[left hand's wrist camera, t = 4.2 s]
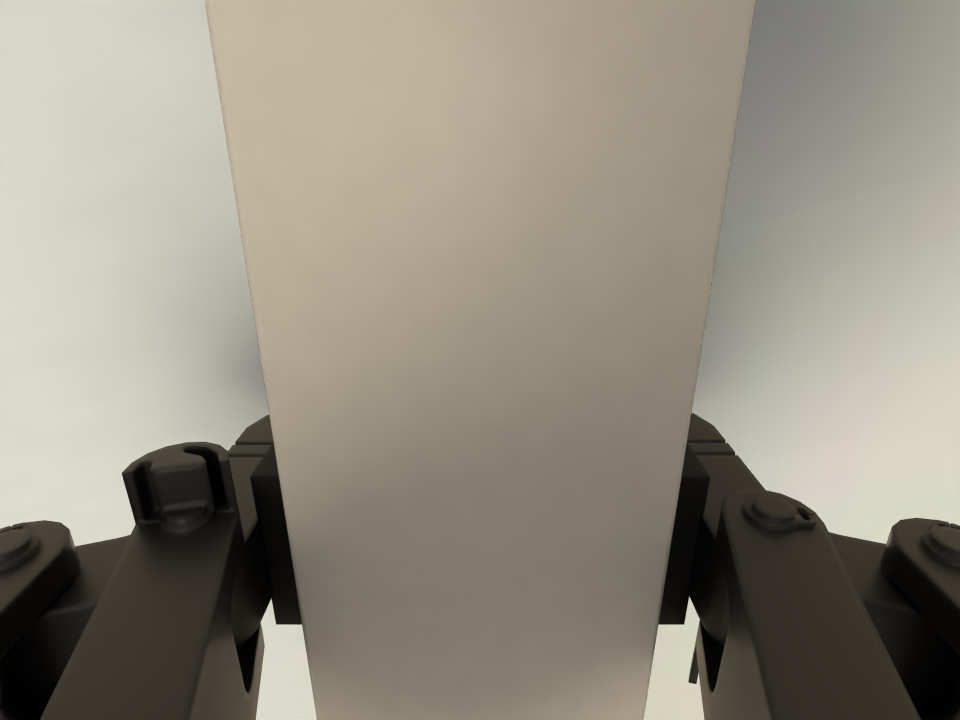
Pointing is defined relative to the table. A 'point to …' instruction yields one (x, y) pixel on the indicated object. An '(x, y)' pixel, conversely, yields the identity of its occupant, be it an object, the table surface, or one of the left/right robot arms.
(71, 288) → the table surface
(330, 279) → the beam
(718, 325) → the table surface
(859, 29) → the table surface
